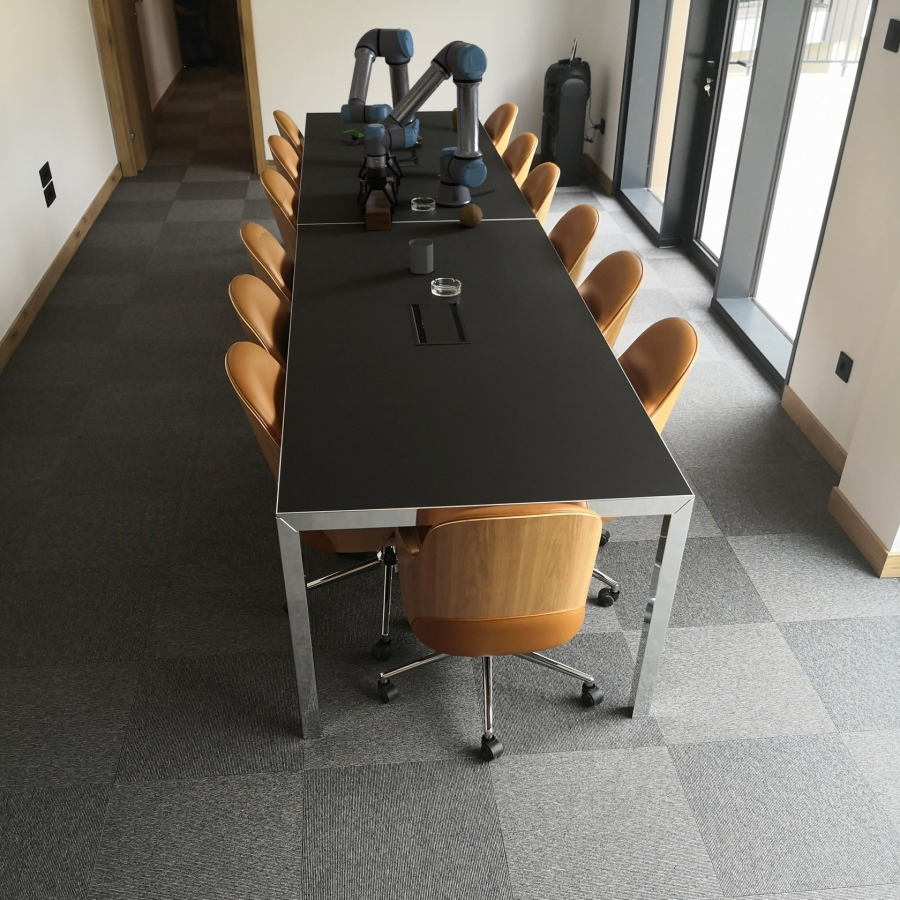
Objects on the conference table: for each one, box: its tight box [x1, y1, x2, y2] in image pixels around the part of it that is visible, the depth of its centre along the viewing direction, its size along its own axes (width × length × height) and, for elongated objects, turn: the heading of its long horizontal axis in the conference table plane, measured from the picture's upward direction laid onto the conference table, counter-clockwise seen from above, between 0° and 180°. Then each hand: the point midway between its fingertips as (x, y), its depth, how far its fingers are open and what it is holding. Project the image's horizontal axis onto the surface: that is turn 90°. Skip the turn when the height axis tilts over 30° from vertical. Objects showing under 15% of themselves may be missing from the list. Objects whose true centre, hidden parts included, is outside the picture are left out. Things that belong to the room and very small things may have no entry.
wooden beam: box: [364, 176, 394, 231], centre depth 365 cm, size 51×10×7 cm, turn 2°
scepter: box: [341, 128, 364, 146], centre depth 466 cm, size 6×13×30 cm
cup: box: [408, 237, 434, 275], centre depth 305 cm, size 8×8×10 cm
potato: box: [458, 203, 484, 228], centre depth 347 cm, size 10×14×8 cm
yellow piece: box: [451, 107, 457, 131], centre depth 487 cm, size 11×11×13 cm
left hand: (381, 193), depth 381 cm, fingers open, 13 cm apart
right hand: (378, 222), depth 352 cm, fingers closed on wooden beam, 10 cm apart
